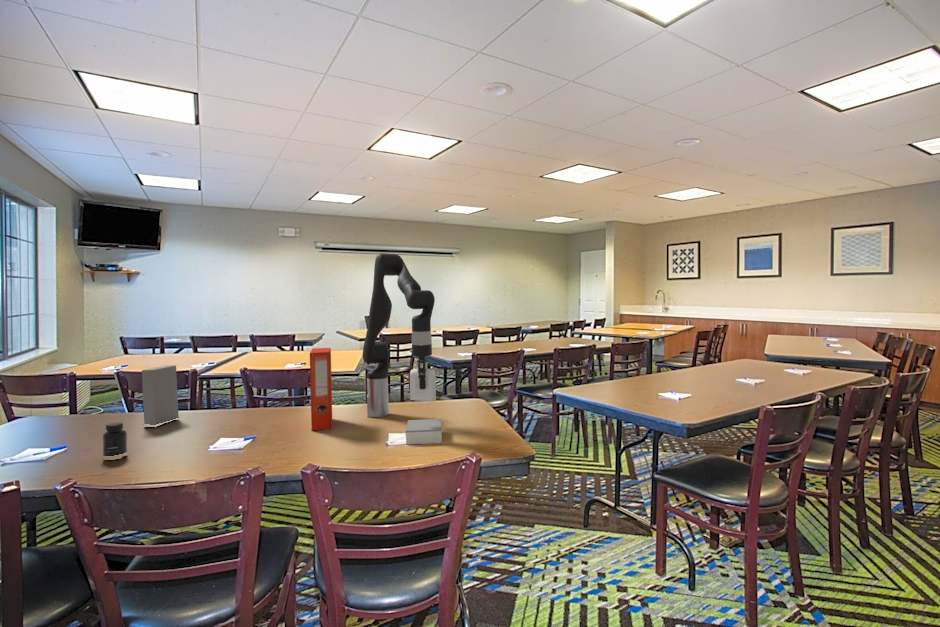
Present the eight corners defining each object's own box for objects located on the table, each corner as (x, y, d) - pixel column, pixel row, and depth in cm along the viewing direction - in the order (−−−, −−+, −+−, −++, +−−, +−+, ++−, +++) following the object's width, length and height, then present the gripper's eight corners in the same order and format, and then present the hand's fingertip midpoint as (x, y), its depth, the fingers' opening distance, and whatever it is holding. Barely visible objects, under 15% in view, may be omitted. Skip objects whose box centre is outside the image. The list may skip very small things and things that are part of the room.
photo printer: (437, 399, 184) (437, 367, 184) (433, 402, 180) (432, 369, 179) (413, 398, 187) (412, 366, 187) (408, 400, 183) (407, 368, 183)
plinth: (406, 444, 176) (405, 430, 176) (408, 432, 191) (408, 420, 191) (441, 442, 177) (441, 429, 177) (441, 431, 192) (441, 418, 192)
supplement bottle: (108, 462, 163) (106, 427, 163) (99, 459, 167) (97, 425, 167) (131, 456, 169) (129, 422, 169) (122, 453, 173) (120, 420, 172)
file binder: (333, 418, 215) (330, 347, 214) (332, 429, 199) (329, 351, 198) (314, 420, 213) (311, 348, 212) (311, 431, 197) (308, 352, 195)
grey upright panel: (167, 419, 221) (164, 365, 220) (179, 420, 220) (176, 365, 219) (142, 428, 207) (139, 370, 206) (155, 428, 206) (152, 370, 205)
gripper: (412, 341, 190) (413, 384, 190) (410, 345, 175) (411, 391, 176) (431, 341, 190) (433, 383, 191) (431, 344, 176) (432, 391, 176)
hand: (422, 387), depth 183 cm, fingers closed on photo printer, 5 cm apart
